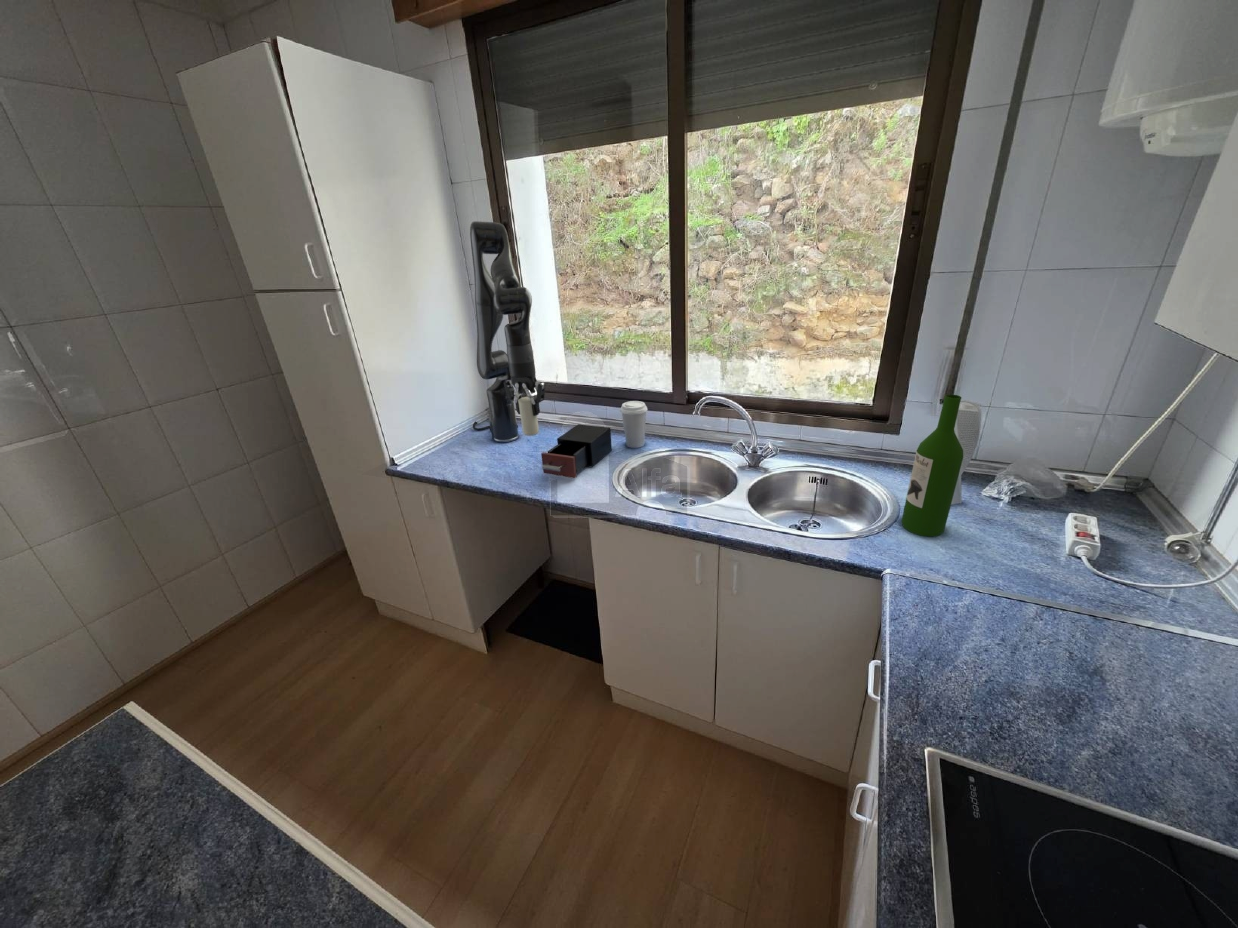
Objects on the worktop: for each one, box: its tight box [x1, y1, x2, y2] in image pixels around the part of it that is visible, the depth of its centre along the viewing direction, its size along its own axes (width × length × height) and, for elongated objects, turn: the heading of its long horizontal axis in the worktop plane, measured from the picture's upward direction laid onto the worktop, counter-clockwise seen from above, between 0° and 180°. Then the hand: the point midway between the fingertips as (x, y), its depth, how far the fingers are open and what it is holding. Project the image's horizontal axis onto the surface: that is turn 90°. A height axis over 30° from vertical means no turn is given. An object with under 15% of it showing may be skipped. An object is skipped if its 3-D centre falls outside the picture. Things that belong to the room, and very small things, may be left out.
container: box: [518, 396, 540, 437], centre depth 150 cm, size 5×5×11 cm
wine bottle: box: [900, 394, 963, 538], centre depth 110 cm, size 9×9×32 cm
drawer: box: [540, 441, 590, 479], centre depth 154 cm, size 18×11×7 cm, turn 155°
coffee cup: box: [619, 400, 648, 449], centre depth 172 cm, size 10×10×15 cm
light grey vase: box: [951, 398, 982, 506], centre depth 122 cm, size 8×8×28 cm
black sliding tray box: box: [556, 423, 613, 468], centre depth 165 cm, size 15×13×9 cm
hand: (528, 414), depth 150 cm, fingers closed on container, 5 cm apart
